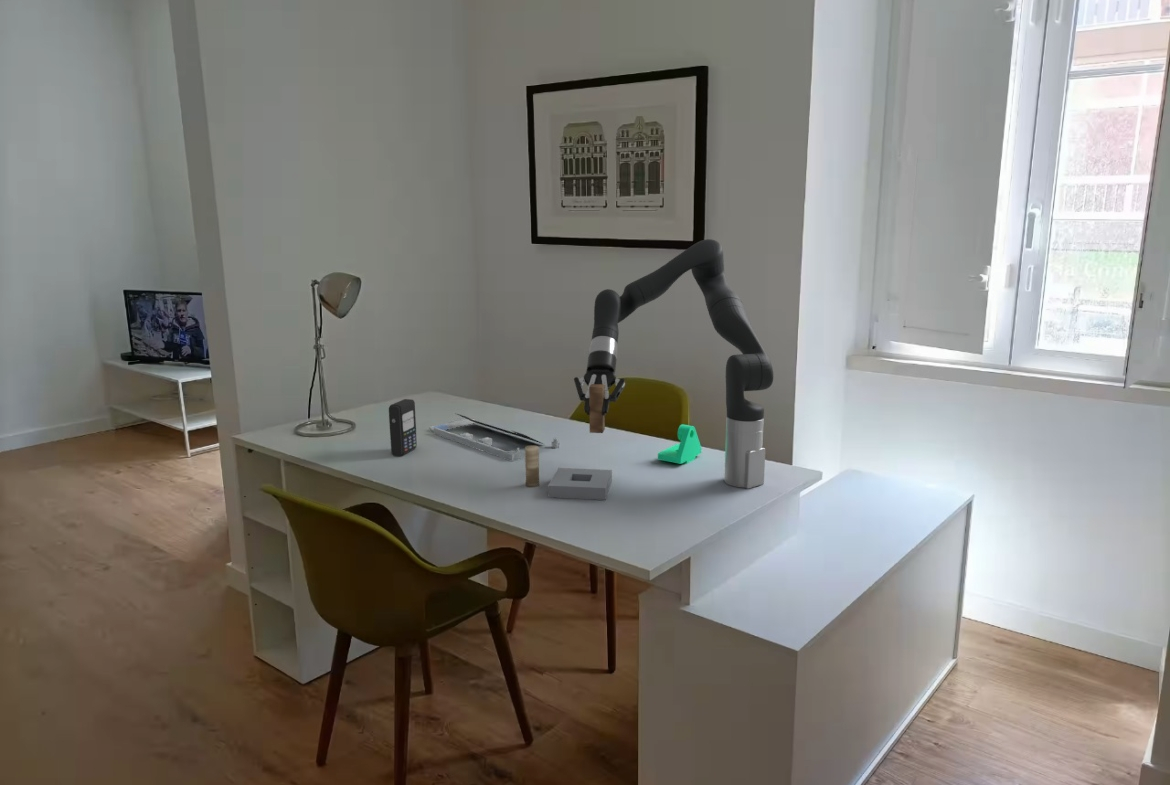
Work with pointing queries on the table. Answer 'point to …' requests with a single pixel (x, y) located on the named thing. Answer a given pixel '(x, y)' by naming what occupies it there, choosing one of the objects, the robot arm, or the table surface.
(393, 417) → the card reader
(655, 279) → the robot arm
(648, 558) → the table surface
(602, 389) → the walnut bar
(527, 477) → the beech dowel
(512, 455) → the paper cutter
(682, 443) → the camera mount
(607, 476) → the bore plate
